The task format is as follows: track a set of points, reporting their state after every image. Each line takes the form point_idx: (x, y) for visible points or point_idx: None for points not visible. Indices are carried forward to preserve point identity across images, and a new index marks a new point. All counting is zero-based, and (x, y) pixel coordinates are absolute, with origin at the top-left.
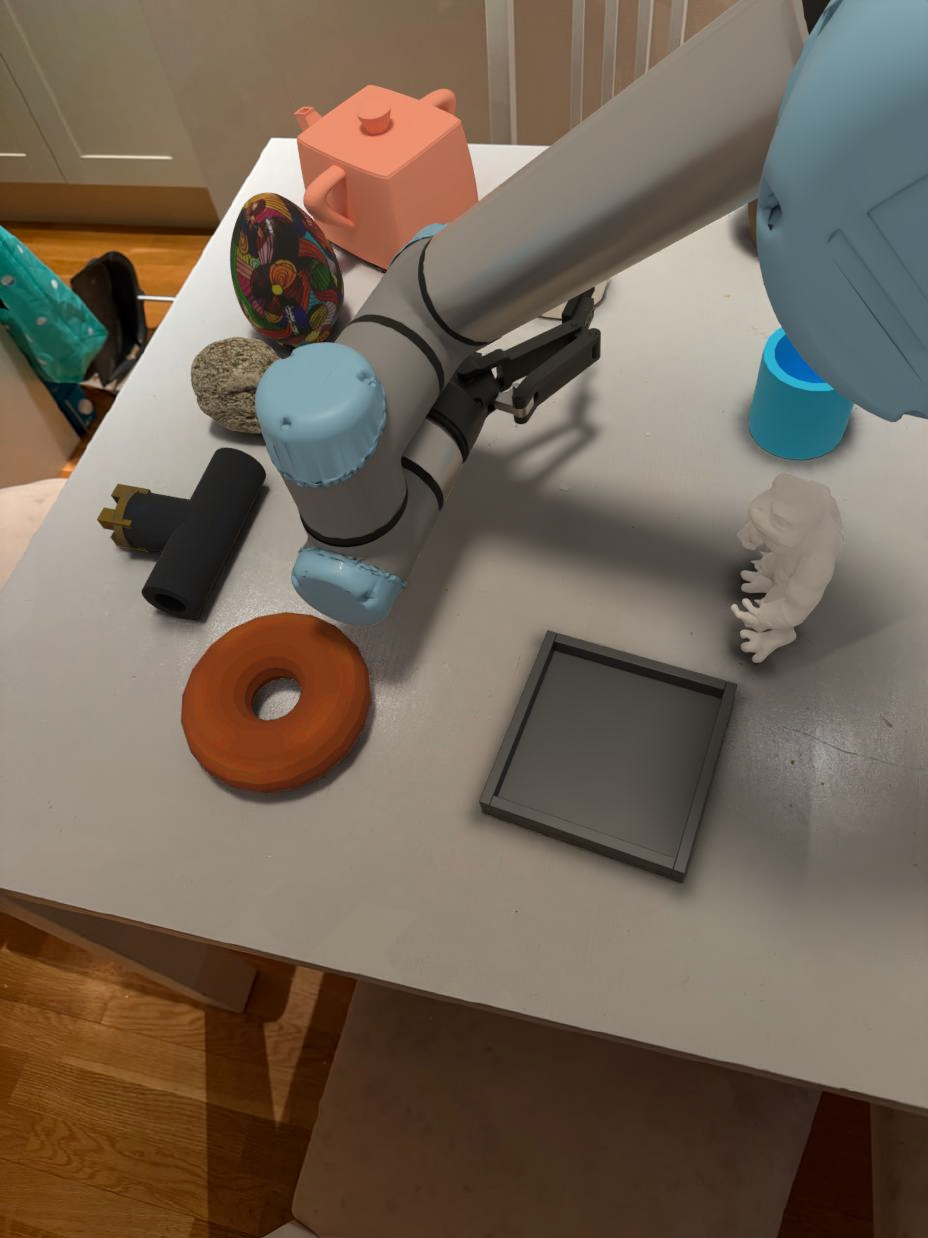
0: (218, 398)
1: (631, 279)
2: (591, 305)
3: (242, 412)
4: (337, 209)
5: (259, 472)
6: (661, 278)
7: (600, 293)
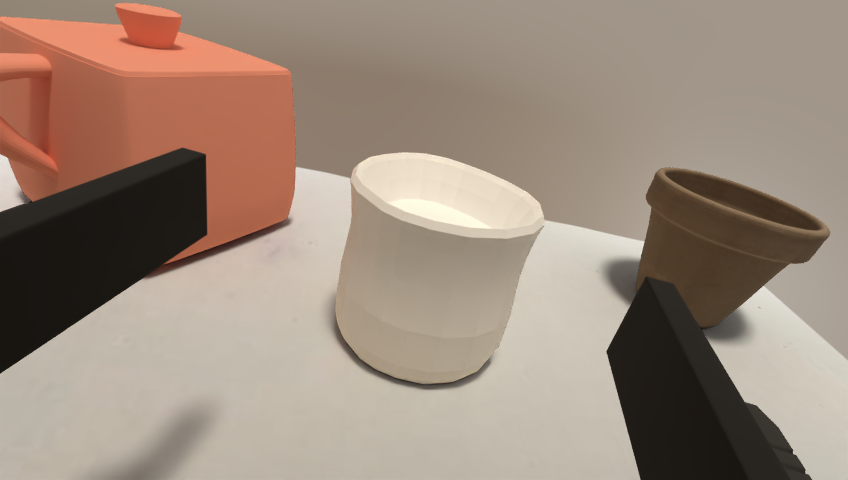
0: None
1: (519, 330)
2: (785, 443)
3: None
4: (34, 139)
5: None
6: (561, 334)
7: (495, 348)
